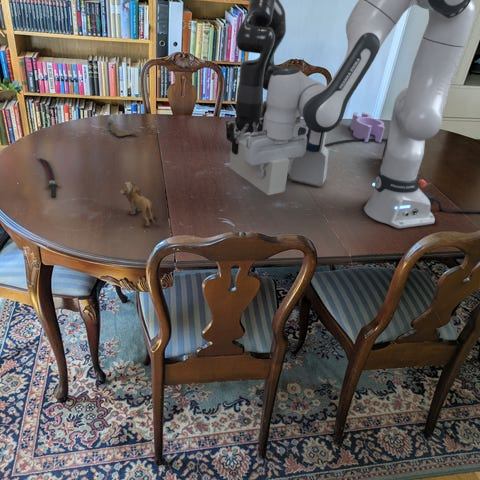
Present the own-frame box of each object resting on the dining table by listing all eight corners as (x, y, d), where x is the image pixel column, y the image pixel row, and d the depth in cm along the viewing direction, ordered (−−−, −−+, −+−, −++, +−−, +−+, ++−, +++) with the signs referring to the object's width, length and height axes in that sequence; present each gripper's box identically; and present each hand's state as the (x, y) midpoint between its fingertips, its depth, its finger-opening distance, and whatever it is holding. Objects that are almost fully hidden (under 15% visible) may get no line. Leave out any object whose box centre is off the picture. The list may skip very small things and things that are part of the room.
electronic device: (325, 180, 169) (342, 97, 152) (321, 188, 163) (339, 103, 146) (292, 173, 172) (306, 91, 155) (287, 181, 165) (301, 96, 149)
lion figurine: (118, 210, 138) (116, 182, 133) (132, 204, 141) (131, 177, 137) (151, 229, 130) (150, 201, 126) (165, 223, 134) (165, 195, 129)
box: (229, 167, 150) (231, 136, 145) (244, 164, 153) (247, 134, 148) (268, 195, 136) (272, 162, 131) (284, 191, 139) (289, 159, 134)
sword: (61, 197, 141) (61, 193, 140) (50, 198, 139) (50, 194, 139) (49, 160, 164) (48, 156, 163) (39, 160, 163) (39, 157, 162)
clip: (343, 126, 223) (346, 112, 219) (367, 127, 225) (371, 113, 221) (360, 142, 206) (364, 127, 202) (386, 142, 209) (390, 127, 205)
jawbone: (124, 141, 183) (123, 136, 182) (92, 127, 194) (92, 122, 192) (142, 134, 189) (141, 130, 188) (110, 121, 199) (109, 116, 198)
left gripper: (236, 104, 131) (231, 160, 140) (276, 100, 139) (269, 153, 148) (222, 97, 136) (218, 151, 145) (261, 93, 144) (255, 144, 153)
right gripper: (254, 137, 122) (249, 184, 130) (313, 128, 133) (305, 172, 140) (241, 129, 126) (237, 175, 134) (299, 120, 137) (292, 164, 144)
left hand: (244, 151), depth 147 cm, fingers closed on box, 6 cm apart
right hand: (272, 174), depth 137 cm, fingers closed on box, 6 cm apart
